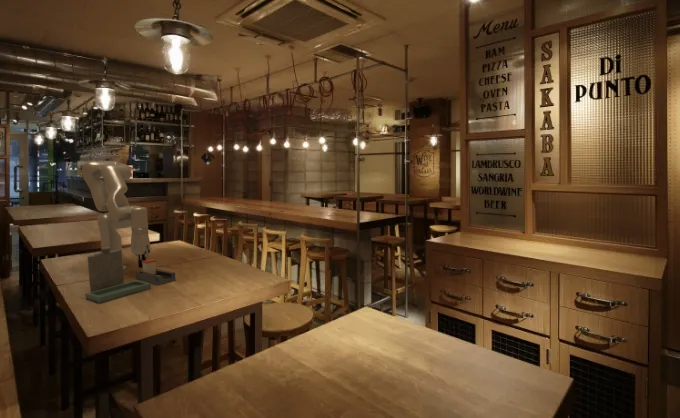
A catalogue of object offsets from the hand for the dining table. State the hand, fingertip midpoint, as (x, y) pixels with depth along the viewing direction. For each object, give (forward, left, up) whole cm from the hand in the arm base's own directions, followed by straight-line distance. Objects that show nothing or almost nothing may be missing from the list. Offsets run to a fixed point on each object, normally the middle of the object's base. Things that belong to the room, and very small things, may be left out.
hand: (142, 267), depth 204 cm
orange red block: (+6, 0, -3) cm, 6 cm away
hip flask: (+7, -21, -6) cm, 23 cm away
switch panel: (+11, 0, -5) cm, 12 cm away
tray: (+16, -21, -5) cm, 27 cm away
